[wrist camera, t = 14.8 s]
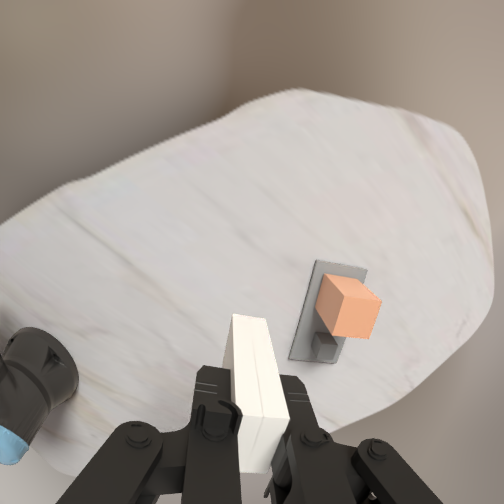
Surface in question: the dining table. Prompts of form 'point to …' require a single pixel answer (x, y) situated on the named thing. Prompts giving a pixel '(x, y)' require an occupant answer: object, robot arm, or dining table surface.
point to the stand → (311, 324)
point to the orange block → (347, 306)
